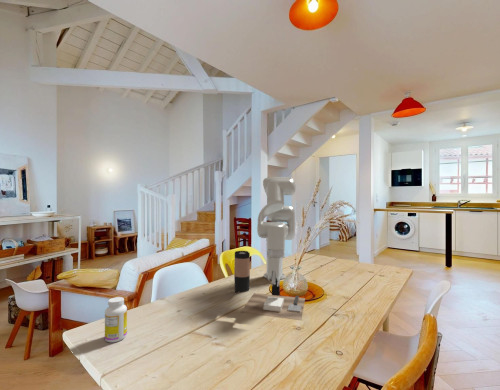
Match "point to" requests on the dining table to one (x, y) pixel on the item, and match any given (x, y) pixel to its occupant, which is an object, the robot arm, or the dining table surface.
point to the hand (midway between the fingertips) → (275, 294)
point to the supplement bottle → (115, 320)
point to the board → (257, 307)
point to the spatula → (294, 306)
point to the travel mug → (242, 271)
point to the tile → (274, 304)
